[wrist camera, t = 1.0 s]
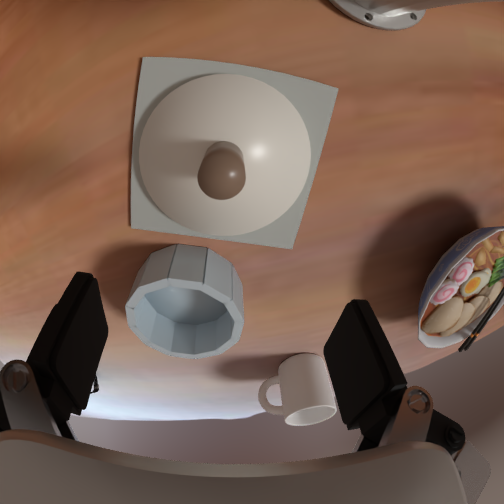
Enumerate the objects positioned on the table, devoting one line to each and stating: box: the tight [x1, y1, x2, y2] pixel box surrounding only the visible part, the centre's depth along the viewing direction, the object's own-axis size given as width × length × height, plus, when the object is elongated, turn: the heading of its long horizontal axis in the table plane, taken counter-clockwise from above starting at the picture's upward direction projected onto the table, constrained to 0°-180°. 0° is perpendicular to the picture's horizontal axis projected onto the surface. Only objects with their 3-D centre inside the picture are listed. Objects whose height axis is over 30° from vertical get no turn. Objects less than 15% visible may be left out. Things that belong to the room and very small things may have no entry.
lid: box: [139, 74, 311, 236], centre depth 23 cm, size 16×16×6 cm
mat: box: [131, 57, 338, 249], centre depth 25 cm, size 18×18×1 cm
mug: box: [258, 353, 337, 426], centre depth 42 cm, size 12×8×10 cm
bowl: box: [125, 244, 244, 359], centre depth 32 cm, size 13×13×6 cm
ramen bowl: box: [418, 226, 504, 352], centre depth 32 cm, size 25×23×8 cm
